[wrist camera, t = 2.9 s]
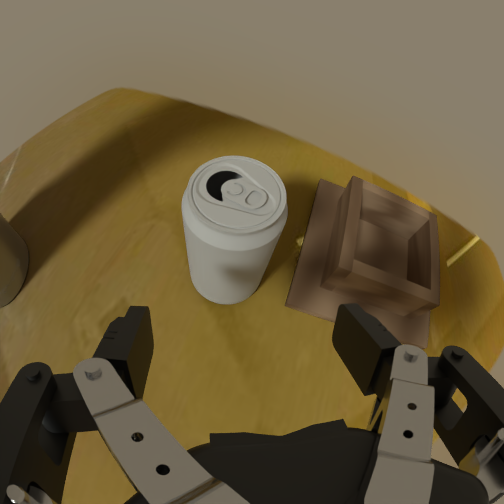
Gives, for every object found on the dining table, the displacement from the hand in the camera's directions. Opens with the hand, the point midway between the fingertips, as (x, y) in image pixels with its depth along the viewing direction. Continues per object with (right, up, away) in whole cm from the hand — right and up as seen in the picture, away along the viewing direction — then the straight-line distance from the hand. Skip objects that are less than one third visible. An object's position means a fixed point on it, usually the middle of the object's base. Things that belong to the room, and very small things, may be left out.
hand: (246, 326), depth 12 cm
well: (+13, +2, +18) cm, 22 cm away
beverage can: (-2, +1, +15) cm, 15 cm away
